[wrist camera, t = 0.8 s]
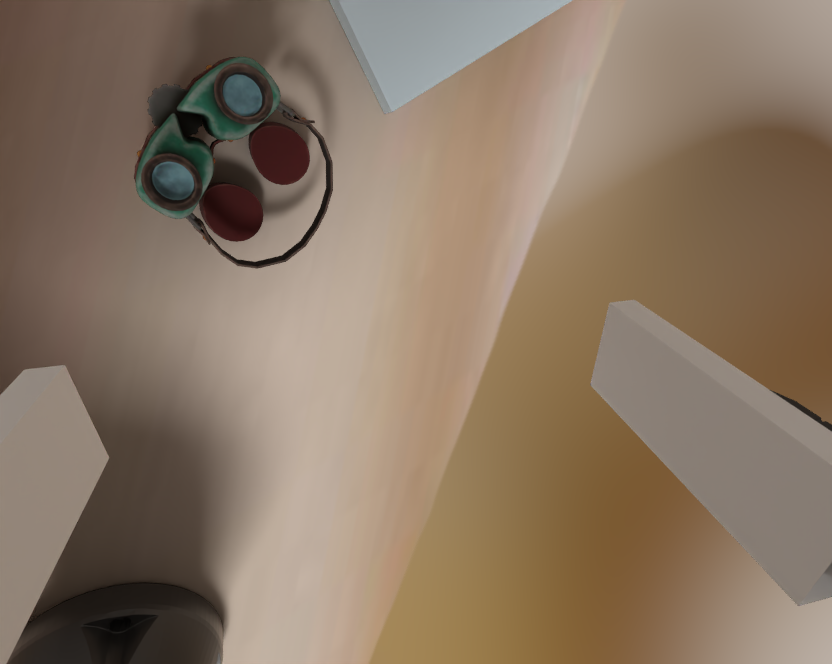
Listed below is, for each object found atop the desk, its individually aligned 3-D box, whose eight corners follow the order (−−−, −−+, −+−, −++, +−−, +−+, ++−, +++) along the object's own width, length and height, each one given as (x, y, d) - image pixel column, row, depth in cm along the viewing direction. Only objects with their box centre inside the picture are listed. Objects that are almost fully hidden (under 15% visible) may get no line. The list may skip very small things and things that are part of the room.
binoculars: (292, 328, 22) (68, 184, 16) (259, 267, 30) (105, 159, 24) (410, 186, 21) (228, -15, 16) (343, 165, 30) (209, 30, 24)
